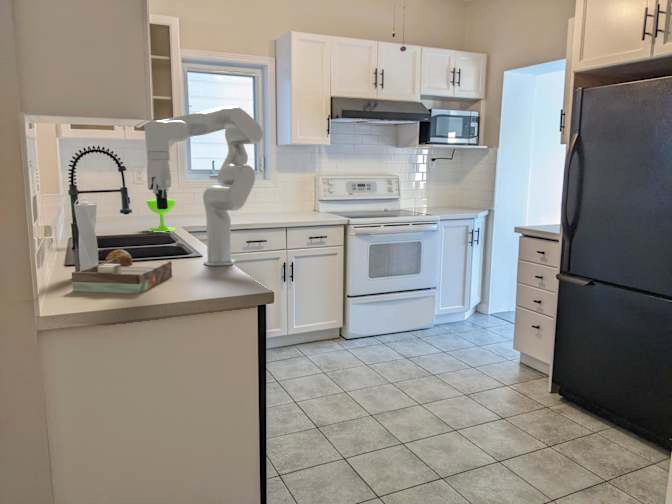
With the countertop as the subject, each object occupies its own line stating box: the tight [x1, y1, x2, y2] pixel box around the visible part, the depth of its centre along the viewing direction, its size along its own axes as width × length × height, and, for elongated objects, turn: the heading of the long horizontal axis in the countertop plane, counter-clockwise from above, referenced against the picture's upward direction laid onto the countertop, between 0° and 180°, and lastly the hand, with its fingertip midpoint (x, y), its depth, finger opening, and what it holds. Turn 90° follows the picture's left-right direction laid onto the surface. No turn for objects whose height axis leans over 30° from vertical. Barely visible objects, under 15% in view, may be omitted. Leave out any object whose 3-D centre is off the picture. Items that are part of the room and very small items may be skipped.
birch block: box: [98, 264, 121, 274], centre depth 170 cm, size 5×5×5 cm
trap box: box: [71, 259, 173, 294], centre depth 180 cm, size 26×22×6 cm
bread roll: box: [104, 249, 133, 267], centre depth 211 cm, size 10×10×8 cm
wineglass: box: [146, 198, 176, 231], centre depth 312 cm, size 16×16×18 cm
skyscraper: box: [73, 196, 99, 272], centre depth 191 cm, size 8×8×28 cm
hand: (162, 208), depth 189 cm, fingers closed
